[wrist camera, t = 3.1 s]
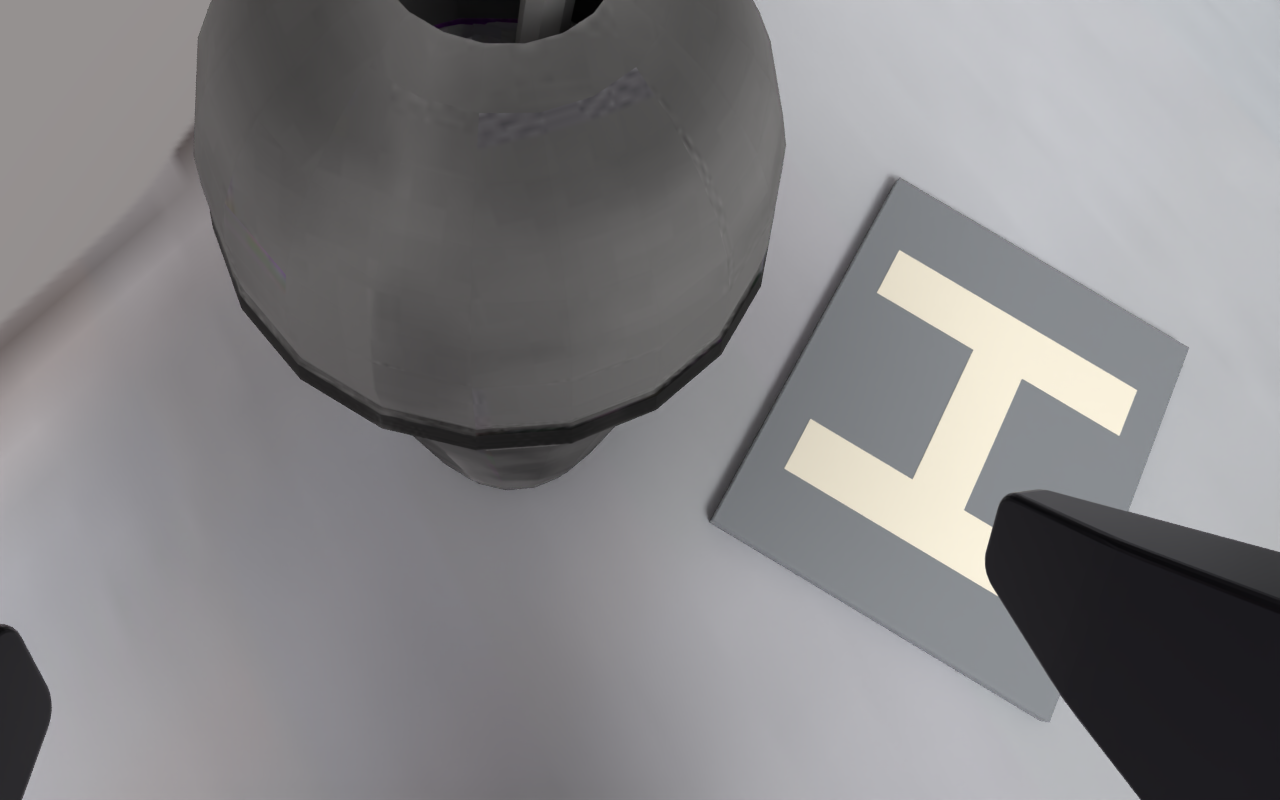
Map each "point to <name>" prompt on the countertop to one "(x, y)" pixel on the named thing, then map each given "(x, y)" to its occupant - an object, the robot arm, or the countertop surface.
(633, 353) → the beverage cup
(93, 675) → the countertop surface
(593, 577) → the countertop surface
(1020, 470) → the letter card
